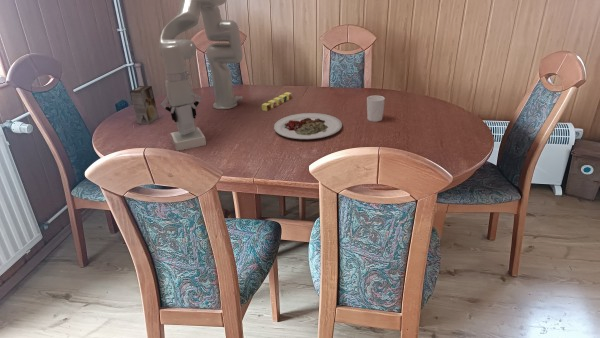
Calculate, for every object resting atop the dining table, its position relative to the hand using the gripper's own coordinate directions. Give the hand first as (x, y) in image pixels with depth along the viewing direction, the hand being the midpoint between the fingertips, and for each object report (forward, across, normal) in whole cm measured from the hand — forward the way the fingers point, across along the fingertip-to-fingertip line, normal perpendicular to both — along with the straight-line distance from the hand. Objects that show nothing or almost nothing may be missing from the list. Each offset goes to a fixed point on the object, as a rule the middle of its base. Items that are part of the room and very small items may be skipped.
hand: (184, 119), depth 166 cm
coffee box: (+11, +11, -38) cm, 41 cm away
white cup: (+11, -81, +20) cm, 84 cm away
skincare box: (+6, 0, 0) cm, 6 cm away
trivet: (+11, 0, 0) cm, 11 cm away
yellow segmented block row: (+12, -54, -24) cm, 60 cm away
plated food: (+11, -50, +13) cm, 53 cm away
